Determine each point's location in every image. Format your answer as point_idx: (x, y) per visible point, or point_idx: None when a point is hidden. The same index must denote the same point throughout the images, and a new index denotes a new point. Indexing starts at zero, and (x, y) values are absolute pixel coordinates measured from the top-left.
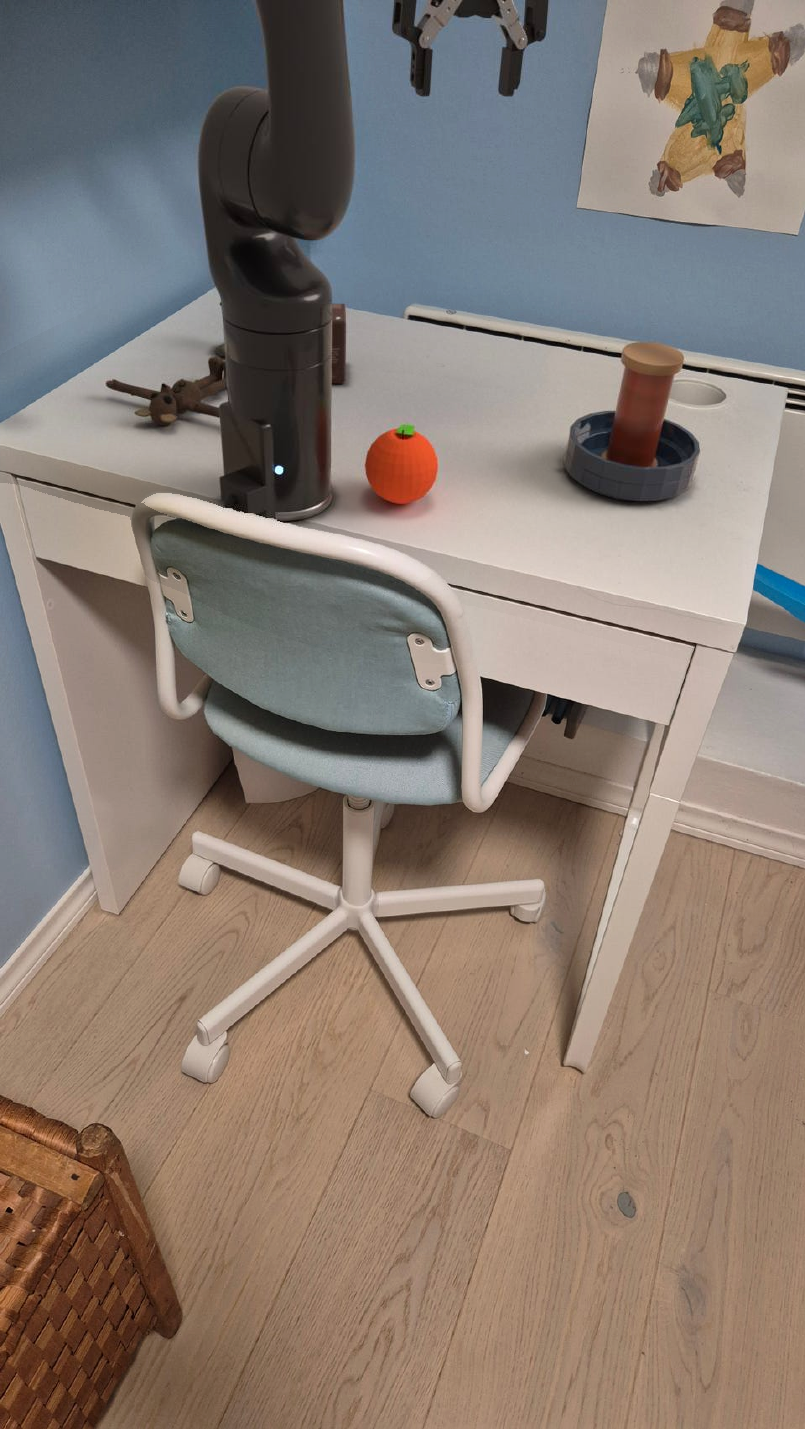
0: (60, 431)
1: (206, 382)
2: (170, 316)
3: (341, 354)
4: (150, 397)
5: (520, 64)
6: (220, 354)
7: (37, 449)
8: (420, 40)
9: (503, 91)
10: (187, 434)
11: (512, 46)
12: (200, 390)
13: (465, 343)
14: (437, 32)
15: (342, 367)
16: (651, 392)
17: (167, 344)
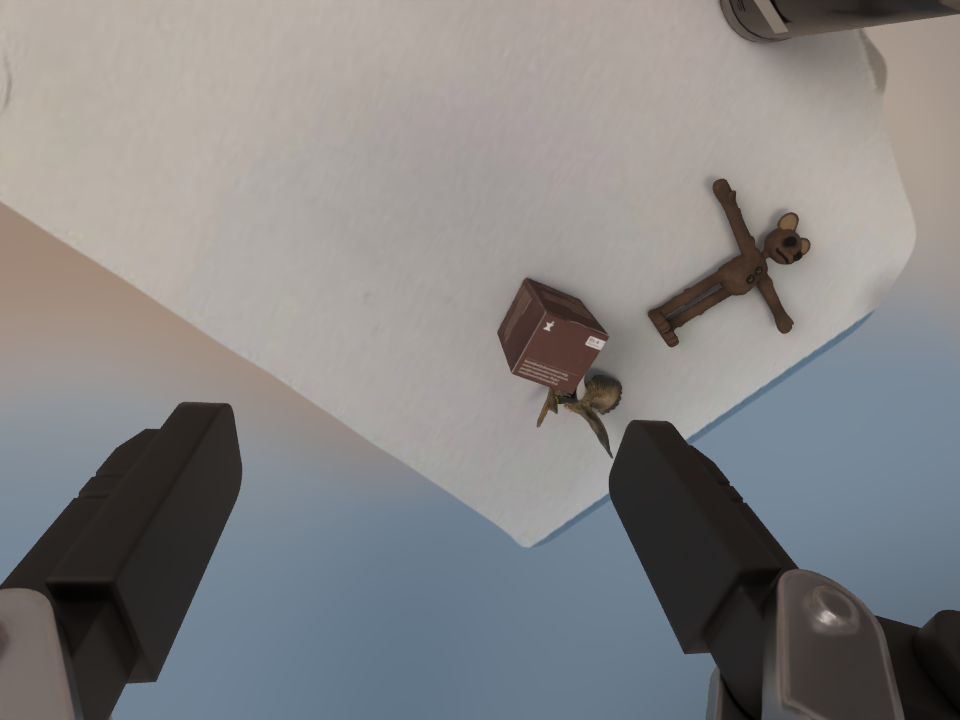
0: (864, 259)
1: (689, 310)
2: None
3: (539, 293)
4: (772, 282)
5: (65, 524)
6: (621, 389)
7: (908, 224)
8: (864, 608)
9: (230, 444)
10: (765, 204)
11: (87, 629)
12: (719, 280)
13: (302, 355)
14: (787, 668)
15: (533, 286)
16: None
17: None
